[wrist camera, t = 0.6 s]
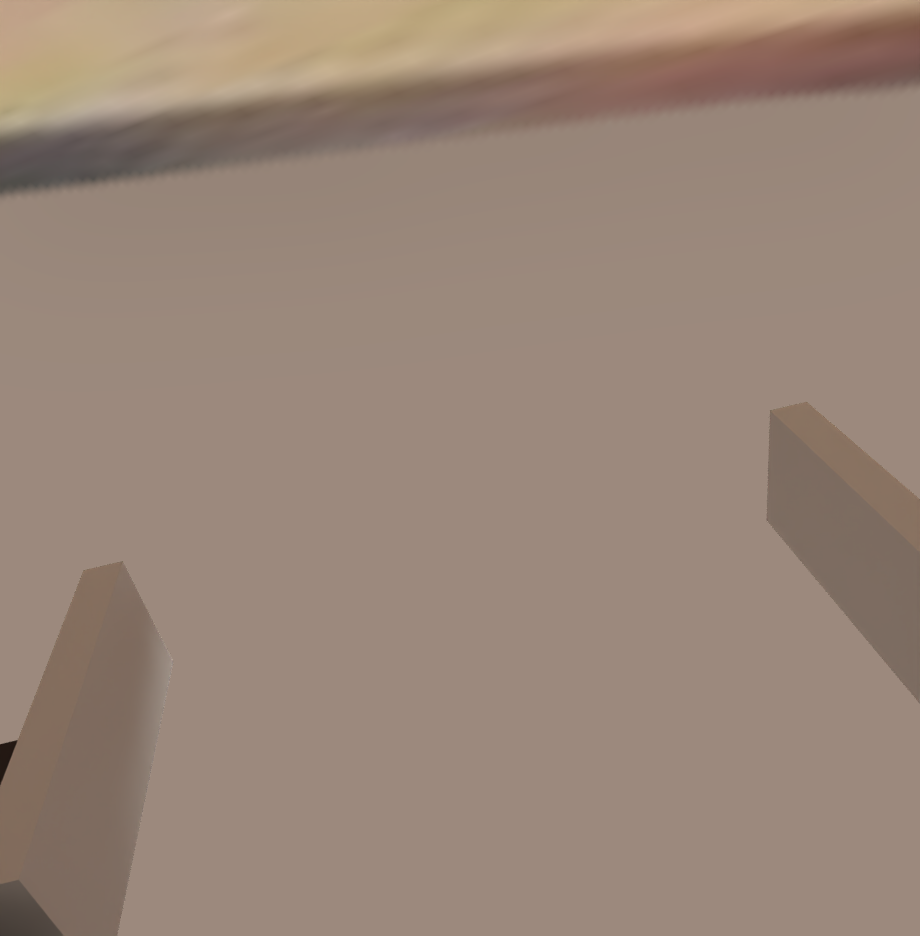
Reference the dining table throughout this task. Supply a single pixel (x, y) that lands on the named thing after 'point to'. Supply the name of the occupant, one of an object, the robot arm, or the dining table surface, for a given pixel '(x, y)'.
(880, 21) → the dining table surface
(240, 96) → the dining table surface
